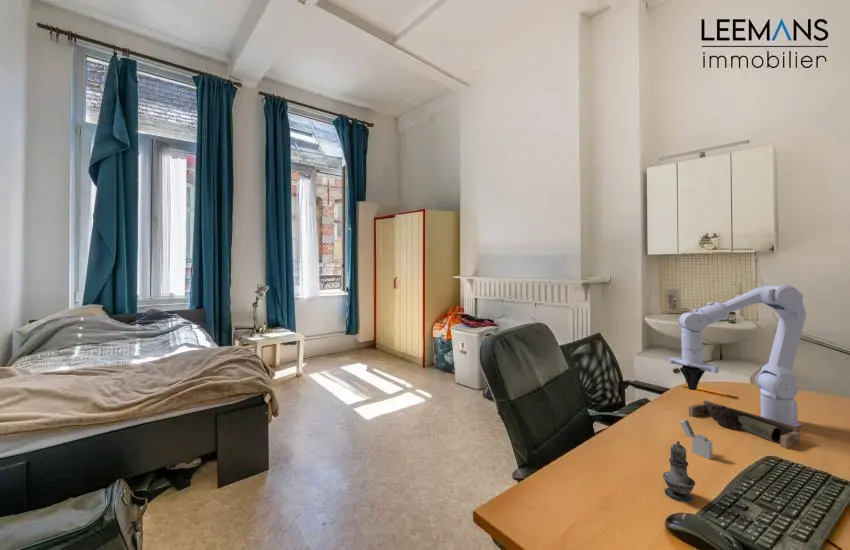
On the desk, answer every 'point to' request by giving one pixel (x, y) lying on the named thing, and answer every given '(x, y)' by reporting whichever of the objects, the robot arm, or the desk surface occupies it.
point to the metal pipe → (744, 423)
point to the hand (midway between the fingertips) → (692, 389)
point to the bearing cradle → (788, 432)
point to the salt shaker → (678, 476)
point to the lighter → (698, 441)
